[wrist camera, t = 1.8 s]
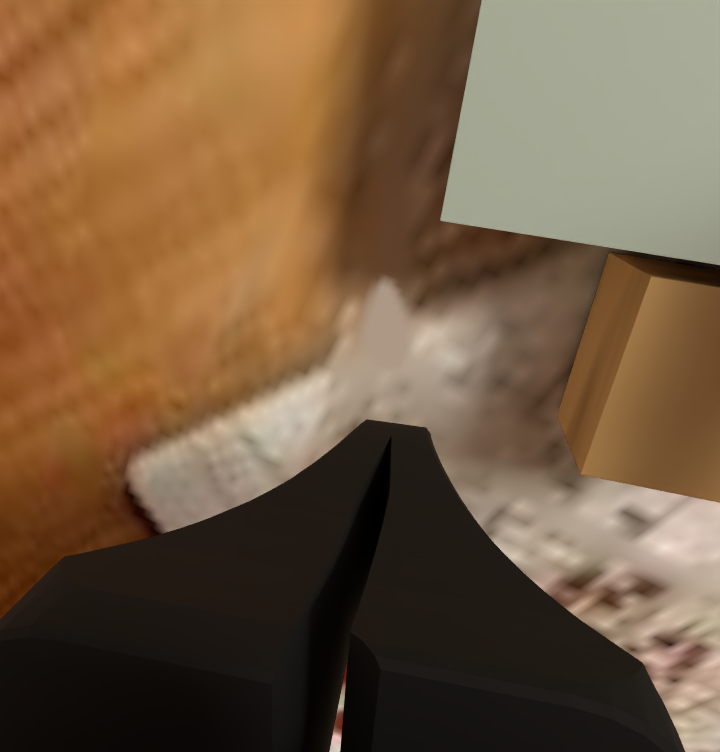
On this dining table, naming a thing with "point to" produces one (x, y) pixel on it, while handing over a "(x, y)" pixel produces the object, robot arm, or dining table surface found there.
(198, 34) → the dining table surface
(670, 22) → the lid
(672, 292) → the tan block
